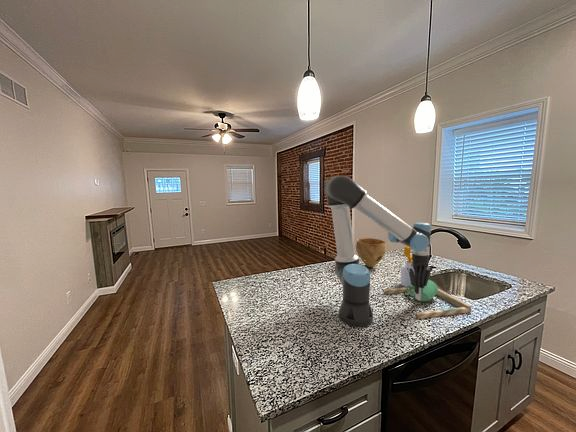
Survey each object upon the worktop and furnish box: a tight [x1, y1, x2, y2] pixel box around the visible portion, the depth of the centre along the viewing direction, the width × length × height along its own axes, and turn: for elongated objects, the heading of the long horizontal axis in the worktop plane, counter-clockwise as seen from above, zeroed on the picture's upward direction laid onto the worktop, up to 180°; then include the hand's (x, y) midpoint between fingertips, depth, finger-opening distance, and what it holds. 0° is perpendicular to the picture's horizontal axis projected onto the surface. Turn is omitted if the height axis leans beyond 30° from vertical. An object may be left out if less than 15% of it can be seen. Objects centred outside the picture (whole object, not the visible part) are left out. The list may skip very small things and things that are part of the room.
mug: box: [406, 279, 439, 303], centre depth 129 cm, size 15×10×10 cm
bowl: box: [355, 237, 387, 268], centre depth 179 cm, size 21×20×20 cm
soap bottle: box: [400, 245, 415, 288], centre depth 145 cm, size 9×9×25 cm
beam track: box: [383, 287, 472, 319], centre depth 126 cm, size 28×27×3 cm
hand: (418, 299), depth 125 cm, fingers closed
